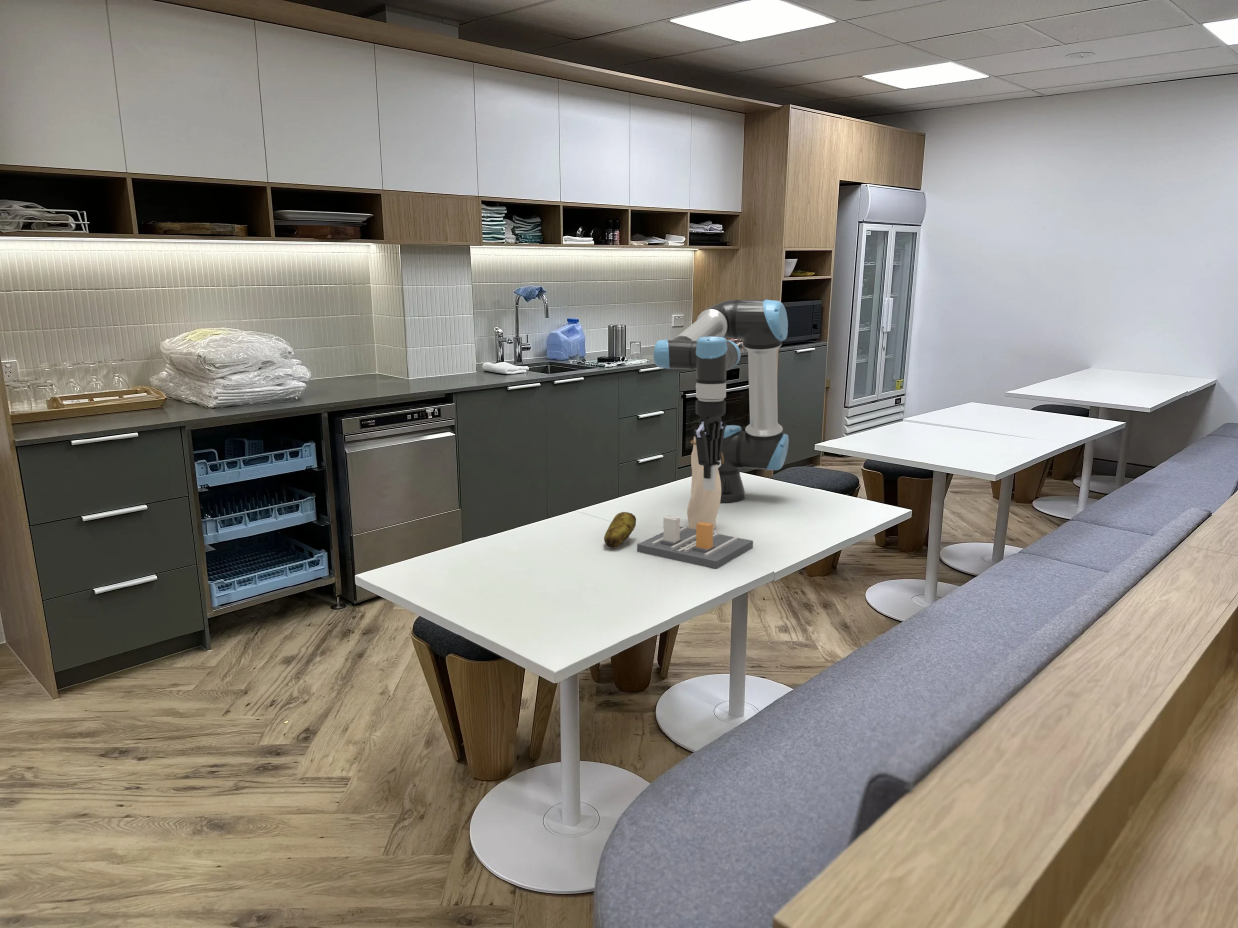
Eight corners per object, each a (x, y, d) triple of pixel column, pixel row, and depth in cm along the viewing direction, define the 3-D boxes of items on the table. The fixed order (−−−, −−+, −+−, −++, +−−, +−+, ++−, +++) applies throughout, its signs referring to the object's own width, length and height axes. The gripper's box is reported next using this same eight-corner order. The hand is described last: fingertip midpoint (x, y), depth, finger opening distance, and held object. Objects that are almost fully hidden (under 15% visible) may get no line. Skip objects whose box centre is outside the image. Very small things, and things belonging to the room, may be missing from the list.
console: (676, 532, 245) (676, 523, 244) (752, 547, 231) (753, 538, 231) (637, 551, 229) (637, 541, 228) (716, 568, 215) (716, 558, 215)
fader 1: (669, 539, 232) (669, 514, 230) (681, 542, 230) (682, 517, 228) (661, 543, 229) (661, 518, 227) (673, 546, 227) (674, 520, 225)
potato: (591, 545, 234) (591, 517, 232) (623, 534, 243) (623, 507, 241) (614, 552, 228) (614, 523, 227) (645, 540, 238) (645, 513, 236)
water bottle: (722, 522, 254) (724, 429, 247) (722, 532, 245) (724, 435, 239) (687, 522, 255) (688, 429, 248) (686, 531, 246) (687, 435, 240)
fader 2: (701, 546, 226) (701, 520, 225) (714, 548, 224) (715, 523, 223) (693, 550, 223) (694, 524, 222) (707, 553, 221) (707, 526, 219)
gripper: (710, 394, 224) (709, 482, 229) (684, 401, 213) (683, 493, 219) (736, 396, 219) (734, 486, 225) (711, 404, 209) (709, 497, 215)
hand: (709, 489), depth 222 cm, fingers closed
